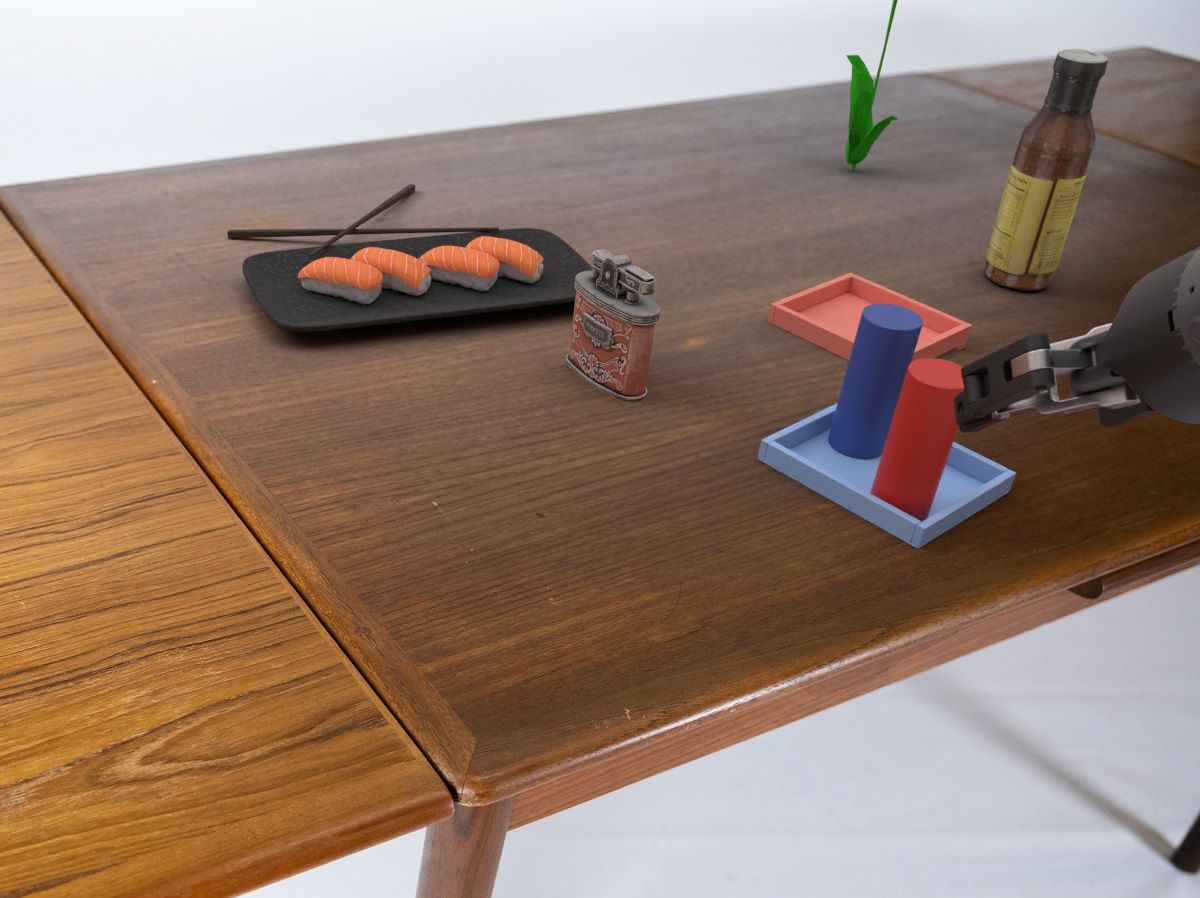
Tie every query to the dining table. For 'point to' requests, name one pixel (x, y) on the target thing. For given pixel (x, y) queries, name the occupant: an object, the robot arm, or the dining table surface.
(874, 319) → the blue peg
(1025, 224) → the sauce bottle
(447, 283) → the sushi plate
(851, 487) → the blue tray
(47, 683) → the dining table surface
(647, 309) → the lighter
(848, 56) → the flower
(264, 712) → the dining table surface
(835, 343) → the red tray
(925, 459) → the red peg
